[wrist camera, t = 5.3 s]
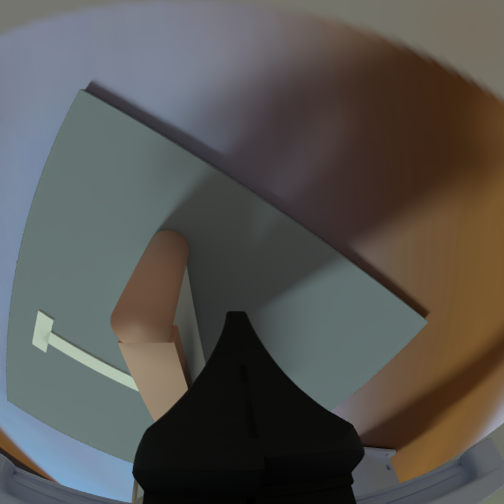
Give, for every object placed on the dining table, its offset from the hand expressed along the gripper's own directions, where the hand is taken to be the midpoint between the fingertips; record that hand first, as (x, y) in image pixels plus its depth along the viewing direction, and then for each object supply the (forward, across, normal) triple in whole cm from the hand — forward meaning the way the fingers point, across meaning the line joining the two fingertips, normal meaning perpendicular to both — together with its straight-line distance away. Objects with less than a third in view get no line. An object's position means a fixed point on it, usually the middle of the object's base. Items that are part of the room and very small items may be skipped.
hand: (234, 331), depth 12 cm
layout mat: (+2, +4, +6) cm, 8 cm away
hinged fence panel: (+1, +2, +1) cm, 3 cm away
